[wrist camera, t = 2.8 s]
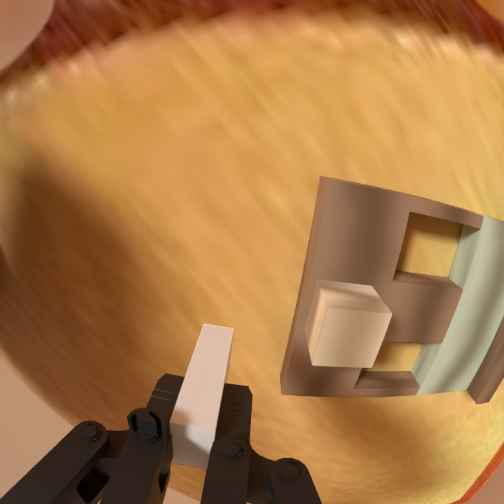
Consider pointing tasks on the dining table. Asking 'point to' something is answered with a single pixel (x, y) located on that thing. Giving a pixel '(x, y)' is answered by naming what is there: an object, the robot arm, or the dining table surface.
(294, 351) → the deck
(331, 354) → the block
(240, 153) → the dining table surface
